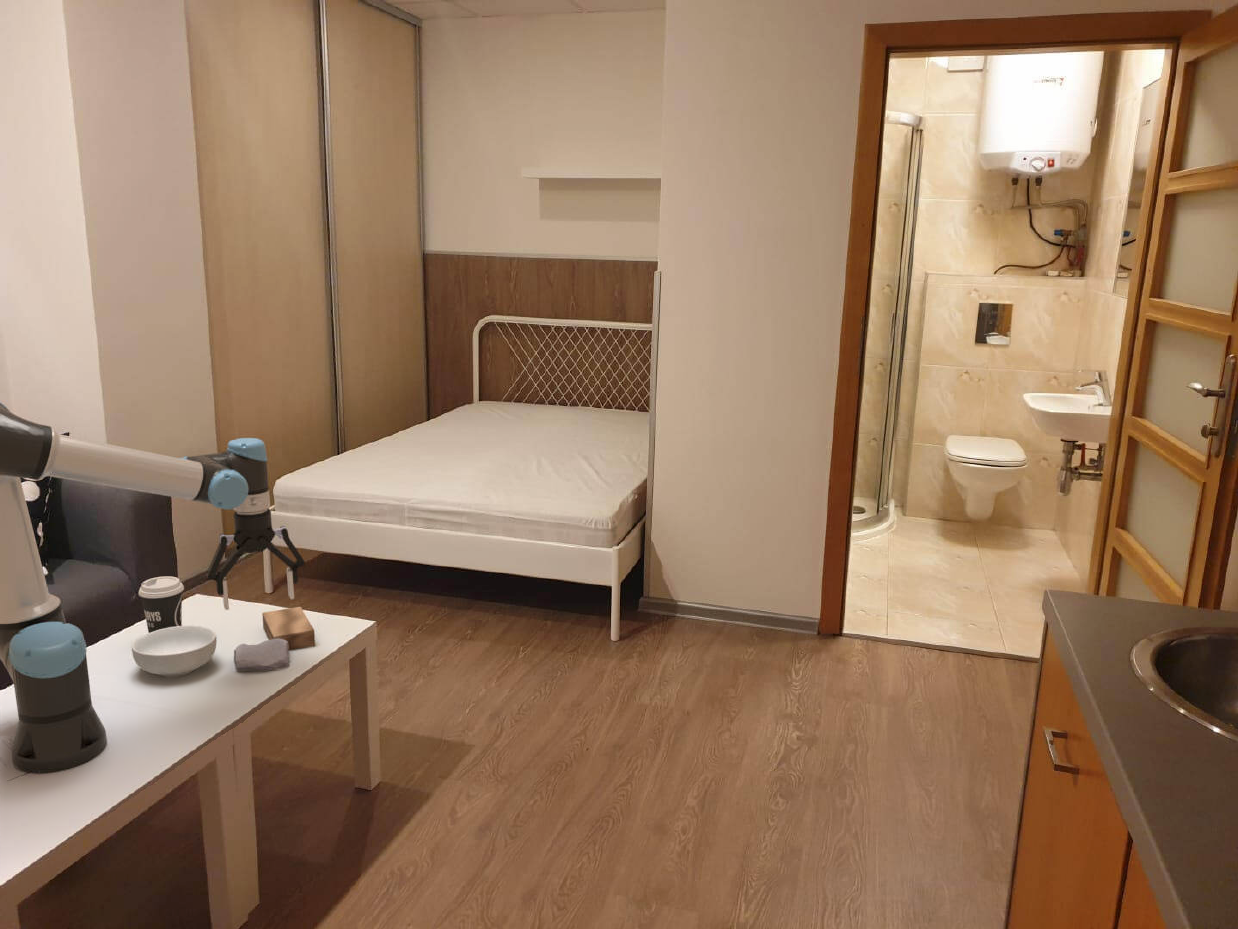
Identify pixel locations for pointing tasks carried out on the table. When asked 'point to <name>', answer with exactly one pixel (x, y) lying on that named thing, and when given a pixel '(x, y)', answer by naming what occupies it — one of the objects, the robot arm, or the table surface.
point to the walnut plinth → (289, 627)
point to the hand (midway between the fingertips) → (259, 602)
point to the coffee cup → (162, 602)
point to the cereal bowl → (174, 650)
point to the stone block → (262, 656)
